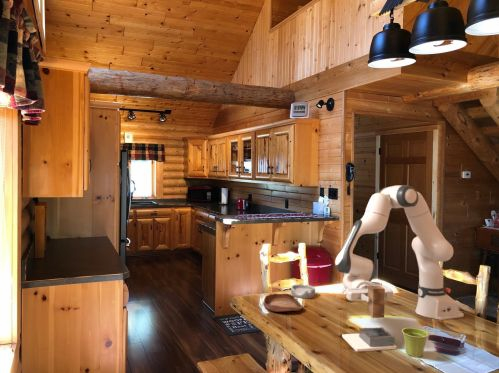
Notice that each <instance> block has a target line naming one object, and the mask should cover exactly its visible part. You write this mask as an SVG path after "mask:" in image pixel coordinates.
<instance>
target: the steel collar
mask: <svg viewBox="0 0 499 373" xmlns="http://www.w3.org/2000/svg"><path fill="white" fill-rule="evenodd" d="M358 334H359V337H360V338H361V339H362V340H363V341H364V342H365V343H366V344H368V345H369V346H370V347H376V346H391V345H395V336H394V335H393V334H392V333H391V332H389V331H387V330H386V329H385V328H384V327H381V326H380V327H379V326H377V327H364V328H363V327H362V328H359V329H358Z"/></svg>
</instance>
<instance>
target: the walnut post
mask: <svg viewBox="0 0 499 373" xmlns="http://www.w3.org/2000/svg"><path fill="white" fill-rule="evenodd" d="M368 296H370V297H371V302H367V312H366V313H367V314H368V316H369V317H370V318H372V319H373V318H374V319H378V318H379V319H380V318H385V302H386V301H385V289H384V288H383V287H381V286H379V285H376V286H368Z"/></svg>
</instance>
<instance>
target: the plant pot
mask: <svg viewBox="0 0 499 373" xmlns="http://www.w3.org/2000/svg"><path fill="white" fill-rule="evenodd" d="M401 332H402V335H403V339H404V346H405V348H404V349H405V354H406V355H408V356H412V357H414V358H421V357H423V356H422V355H424V350H425V345H426V340H427V338H428V336H429V333H428V332H427V331H425V330H423V329H421V328H416V327H405V328H402V329H401Z"/></svg>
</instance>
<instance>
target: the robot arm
mask: <svg viewBox="0 0 499 373" xmlns="http://www.w3.org/2000/svg"><path fill="white" fill-rule="evenodd" d="M401 208H403V209H404V213H405V216H406V218H407V220H408V223H409V226H410V228H411V230H412V232H413V233H414V234H415V235H416V237H414V238H413V239H412V242H411V248H412V250H413V252H414V254H415V257H416V261H417V266H418V271H419V272H418V274H419V275H418V278H419V281H418V286H417V288H418V289H417V295H418V296H417V297H418V298H417V304H416V307H415V312H414V313H416V314H418V315H419V316H422V317H426V318H430V319H436V320H440V321H444V320H451V319H457V318H464V313H463V312H462V311H460V310H459V305H458V303H457V301H456V300H455V299H453V298H452V297H451V296H449V295H448V294H447V293H451V292H452V290H451V288H449V287H445V286H444V271H443V268H442V267H441V265H440V262H447V261H449V260H451V258H452V257H453V256H454V247H453V246H452V244H451V243H450V242H449V241H448V240H447V239H446V238H445V237H444V235H443V234H442V232H441V231H440V229H439V228H438V226H437V225H436V223H435V220H434V218H433V215H432V214H431V210H430V208H429V206H428V203H427V202H426V200H425V198H424V197H423V195H422V194H421V193H420V191H417V190H416V188H415V187H413V186H410V185H406V184H402V185H396V184H395V185H392V186H385V187H383V188H381V189H380V190H379V191H378V192H376V193H374V194H372V195H371V197H370V198H369V200H368V203H367V205H366V207H365V212H364V215H363V216H362V217H361V218H360V219H359V220H358V219H357V220H356V221H355V222H354V223H353V225H352V227H351V229H350V231H349V233H348V235H347V236H346V239H345V241H344V243H343V245H342V247H341V249H340V250H339V252H338V254H337V255H336V257H335V260H334V265H335V267H336V270H337V271H338V272H339V273H341V274H344V273H345V274H346V275H345V276H344V275H343V277H342V285H343V288H344V287H345V289H346V290H344V289H343V290H342V294H343V295H345V298H346V299H347V300H348V301H350V302H355V301H360V302H361V301H362V302H367V303H368V302H371V297H370V296H368V286H376V285H379V286H381V287H383V288H384V289H385V302H386V301H387V300H393V299H394V291H393V290H392V289H391V288H389V287H387V286H385V285H383V283H382V282H377V281H372V280H373V279H374V276H375V272H376V267H375V264H374V262H373V260H371V259H369V258H367V257H363V256H360V255H357V254H355V253H353V251H354V248H355V247H356V245H357V242H358V239H359V238H360V237H361V236H362V235H367V234H378V233H380V232H382V231H384V230H385V228H386V226H387V223H388V221H389V217H390V213H391V210H392V209H401Z"/></svg>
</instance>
